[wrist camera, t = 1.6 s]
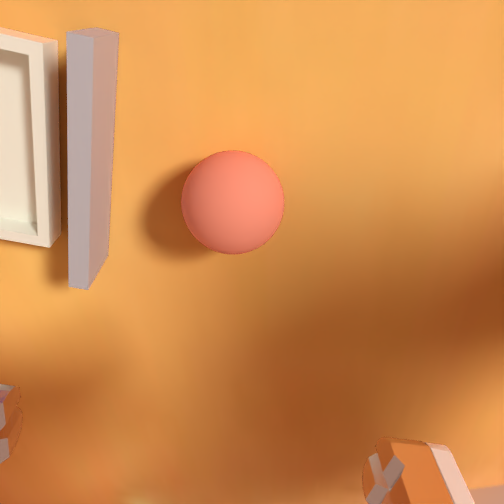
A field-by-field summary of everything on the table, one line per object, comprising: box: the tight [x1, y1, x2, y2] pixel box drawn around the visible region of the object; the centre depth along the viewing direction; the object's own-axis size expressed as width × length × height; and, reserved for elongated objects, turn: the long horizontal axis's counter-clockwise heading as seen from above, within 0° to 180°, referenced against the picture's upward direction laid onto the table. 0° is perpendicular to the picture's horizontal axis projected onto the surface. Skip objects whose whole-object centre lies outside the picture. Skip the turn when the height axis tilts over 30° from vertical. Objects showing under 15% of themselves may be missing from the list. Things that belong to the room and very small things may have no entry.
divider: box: [67, 28, 119, 290], centre depth 20 cm, size 1×12×4 cm, turn 168°
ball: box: [181, 151, 284, 254], centre depth 20 cm, size 5×5×5 cm
